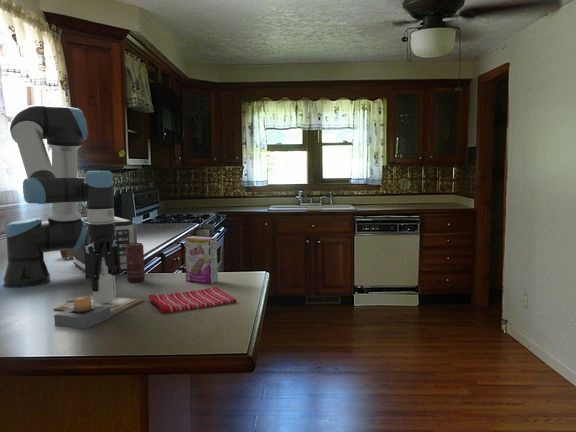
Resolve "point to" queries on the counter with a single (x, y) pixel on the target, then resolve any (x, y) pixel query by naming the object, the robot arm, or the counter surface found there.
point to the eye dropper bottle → (106, 284)
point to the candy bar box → (201, 259)
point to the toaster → (122, 233)
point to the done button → (82, 303)
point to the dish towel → (191, 300)
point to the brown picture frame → (106, 304)
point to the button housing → (82, 317)
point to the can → (135, 262)
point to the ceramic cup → (66, 254)
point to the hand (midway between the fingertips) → (104, 298)
